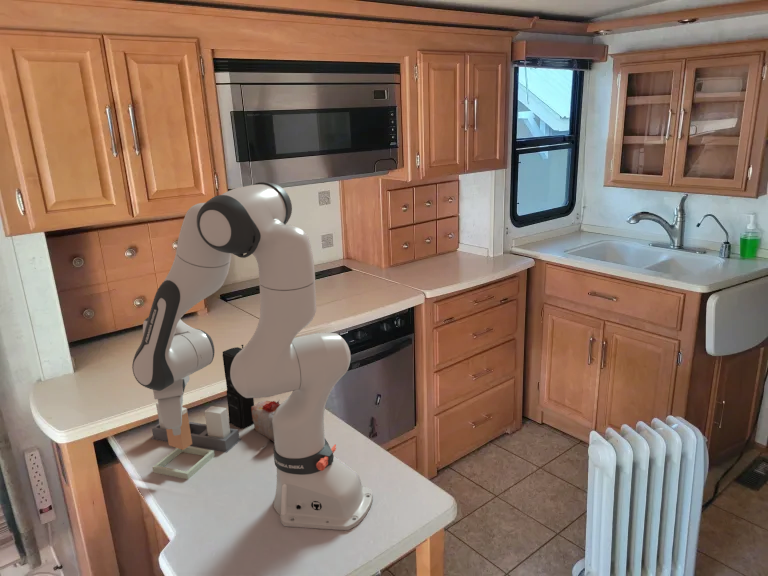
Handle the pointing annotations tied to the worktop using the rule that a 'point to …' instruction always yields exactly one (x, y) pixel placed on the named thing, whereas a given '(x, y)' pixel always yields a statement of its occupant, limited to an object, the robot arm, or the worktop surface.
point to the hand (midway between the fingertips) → (177, 426)
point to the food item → (264, 417)
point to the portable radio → (236, 395)
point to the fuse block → (206, 431)
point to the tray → (179, 473)
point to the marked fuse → (185, 436)
